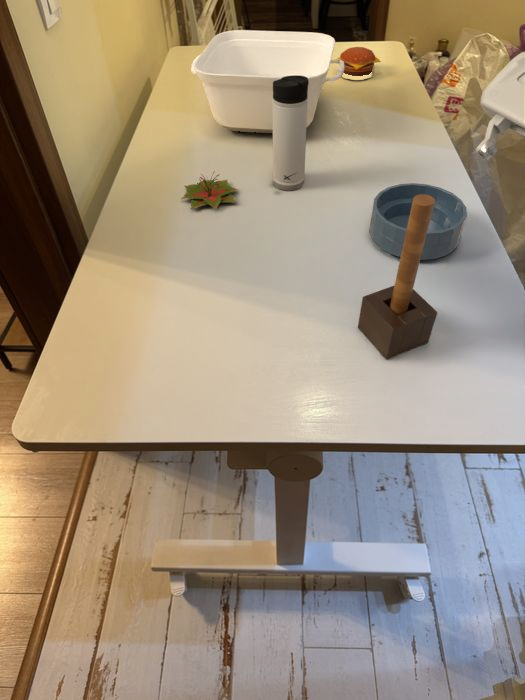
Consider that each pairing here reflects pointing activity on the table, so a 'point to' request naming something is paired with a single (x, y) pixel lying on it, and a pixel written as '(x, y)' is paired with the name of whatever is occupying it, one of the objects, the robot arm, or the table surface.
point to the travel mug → (289, 131)
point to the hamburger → (358, 61)
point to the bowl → (394, 218)
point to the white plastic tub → (261, 73)
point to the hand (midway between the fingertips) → (508, 172)
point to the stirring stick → (411, 252)
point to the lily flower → (209, 193)
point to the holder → (395, 323)
